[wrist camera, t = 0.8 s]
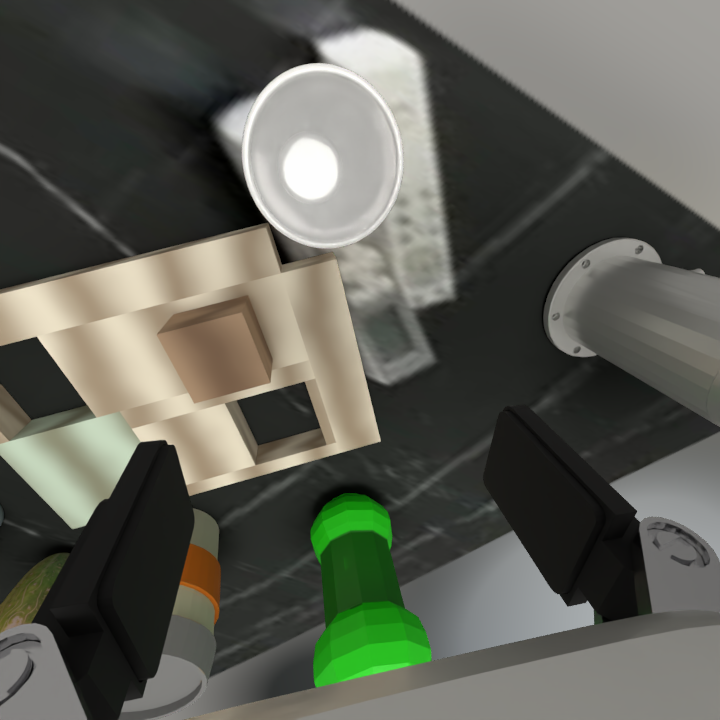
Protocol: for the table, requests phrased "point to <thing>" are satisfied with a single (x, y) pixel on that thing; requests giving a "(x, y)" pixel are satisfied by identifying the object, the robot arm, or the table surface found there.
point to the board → (160, 379)
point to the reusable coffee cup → (186, 631)
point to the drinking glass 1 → (1, 515)
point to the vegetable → (30, 592)
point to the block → (217, 349)
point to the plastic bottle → (361, 595)
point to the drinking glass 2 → (322, 155)
